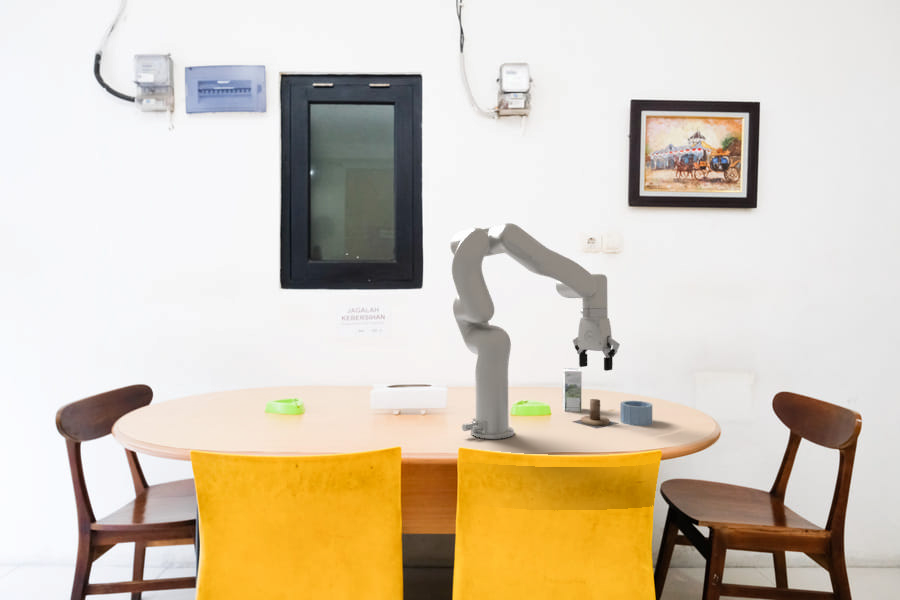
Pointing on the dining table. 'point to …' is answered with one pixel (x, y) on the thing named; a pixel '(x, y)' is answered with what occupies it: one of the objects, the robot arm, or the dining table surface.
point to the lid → (595, 415)
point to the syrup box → (572, 389)
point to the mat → (595, 426)
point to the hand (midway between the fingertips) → (595, 368)
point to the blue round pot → (636, 413)
